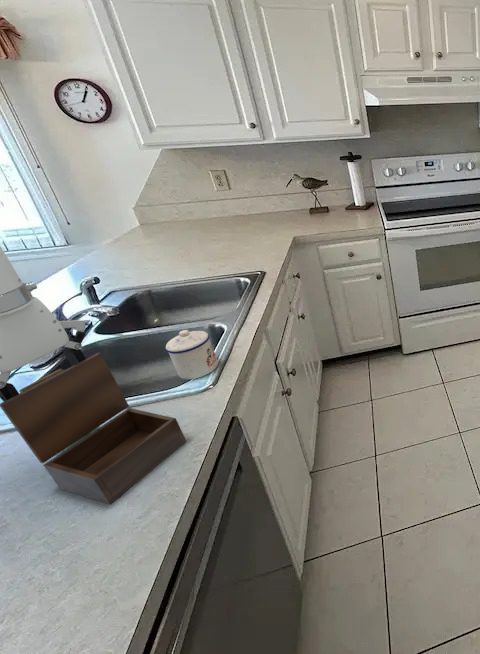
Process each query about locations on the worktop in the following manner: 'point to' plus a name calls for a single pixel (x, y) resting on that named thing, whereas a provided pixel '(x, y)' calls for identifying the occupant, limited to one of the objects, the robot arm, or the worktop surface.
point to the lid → (65, 406)
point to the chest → (116, 455)
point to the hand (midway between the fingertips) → (50, 383)
